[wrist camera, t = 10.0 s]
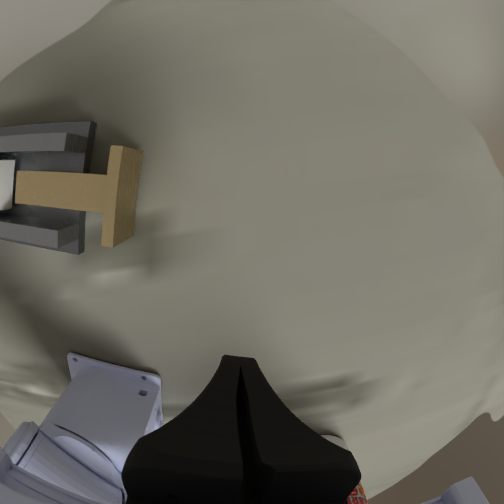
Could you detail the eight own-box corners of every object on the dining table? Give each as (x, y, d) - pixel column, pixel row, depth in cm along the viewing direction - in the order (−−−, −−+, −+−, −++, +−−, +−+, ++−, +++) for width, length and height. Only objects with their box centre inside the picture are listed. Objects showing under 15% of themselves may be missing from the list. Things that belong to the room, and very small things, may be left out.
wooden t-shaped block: (143, 151, 19) (122, 145, 15) (133, 235, 20) (112, 247, 16) (40, 148, 18) (11, 145, 14) (35, 221, 19) (6, 229, 16)
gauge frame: (96, 123, 18) (62, 112, 14) (84, 251, 21) (50, 269, 16) (1, 129, 18) (-35, 125, 13) (-6, 234, 20) (-41, 246, 15)
